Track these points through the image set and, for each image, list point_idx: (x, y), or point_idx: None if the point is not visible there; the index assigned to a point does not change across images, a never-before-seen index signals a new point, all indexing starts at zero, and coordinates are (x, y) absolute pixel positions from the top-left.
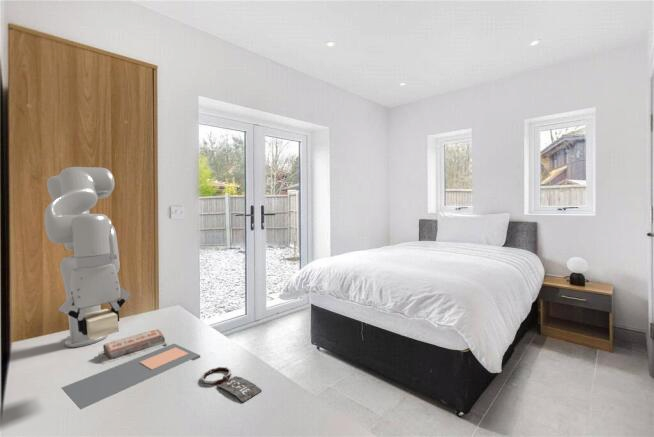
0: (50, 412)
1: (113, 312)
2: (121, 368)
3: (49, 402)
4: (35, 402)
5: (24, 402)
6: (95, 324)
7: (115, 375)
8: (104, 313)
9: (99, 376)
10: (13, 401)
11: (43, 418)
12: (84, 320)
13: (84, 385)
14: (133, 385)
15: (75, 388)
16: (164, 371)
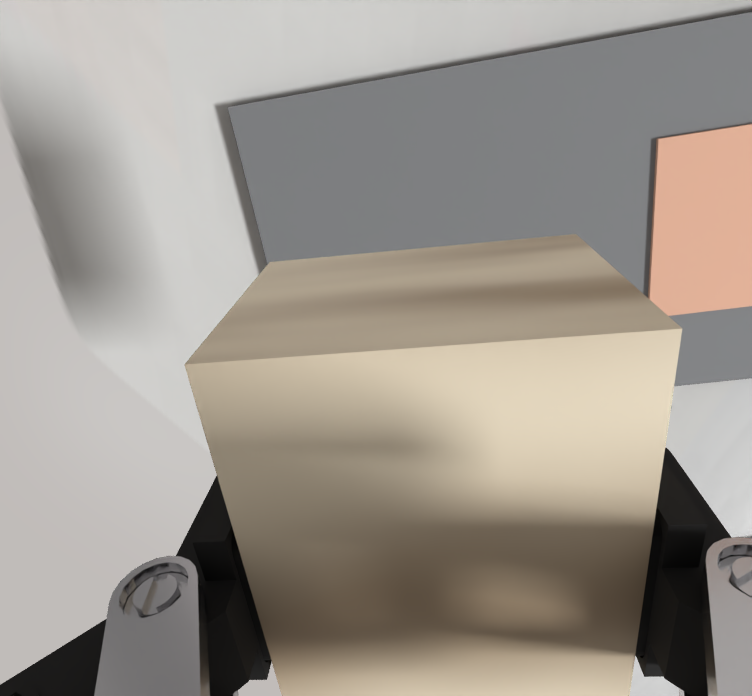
0: (205, 325)
1: (633, 665)
2: (544, 131)
3: (190, 218)
4: (127, 155)
5: (73, 100)
6: None
7: (488, 211)
8: (527, 608)
9: (417, 137)
10: (10, 25)
11: (186, 353)
12: (256, 668)
13: (335, 197)
14: None
15: (294, 194)
16: (677, 385)
